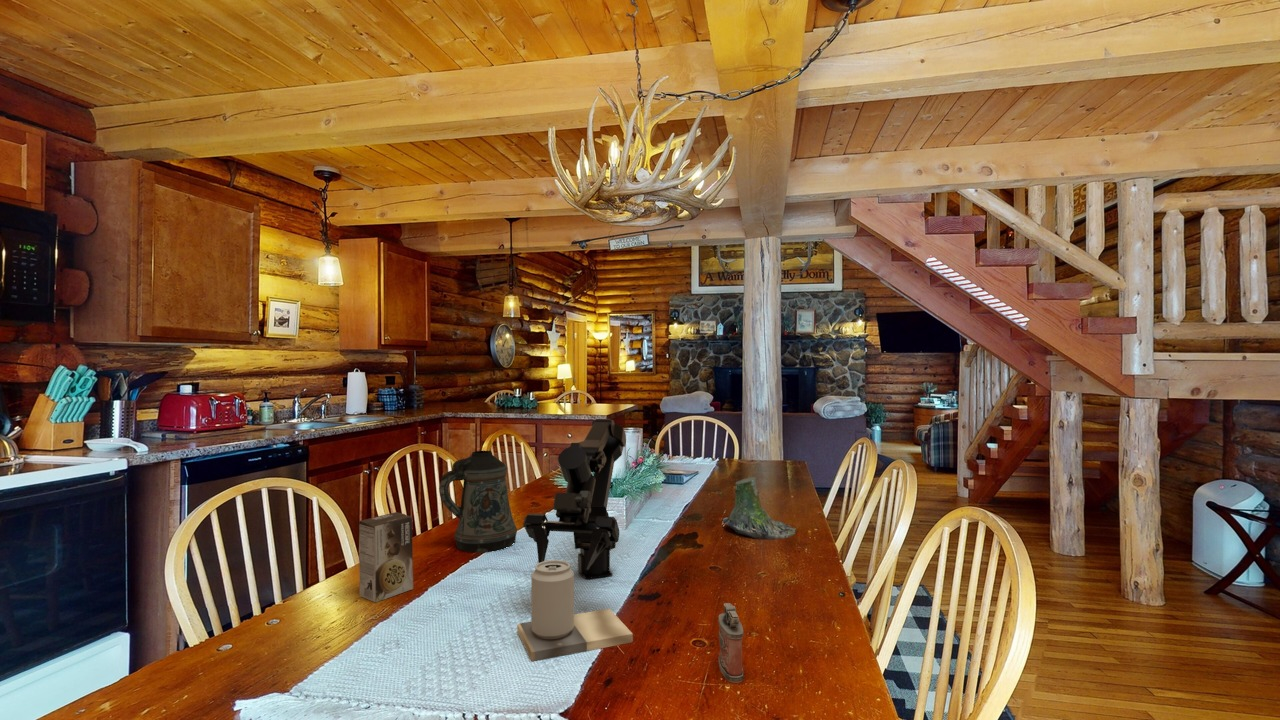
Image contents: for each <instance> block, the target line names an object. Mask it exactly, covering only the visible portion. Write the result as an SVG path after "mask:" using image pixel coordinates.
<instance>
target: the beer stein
mask: <svg viewBox="0 0 1280 720" xmlns="http://www.w3.org/2000/svg"><path fill="white" fill-rule="evenodd" d="M507 473H508V466H507V465H506V464H505V462H503V461H502V460H501V459H499V458H498V457H496V456H494V455H493V452H492V450H491V451H490V450H475V451H473V452H472V453H471V455H469V456H468V457H466V458H461V459H458V460H456V461H455V462H453V465H452V470H449V471H447V472H446V473H444V474H443V475H442V476H441V478H440V480H441V481H440V482H439V488H438V490H439V491H438V492H439V496H440V500H441V501H442V503H443V504H444V506H445V508H447V510H448V511H449V512H450V513H452V515H453V516H455V517H456V518H458V524H457V526H456V529H455V532H454V541H455V545H456V548H457V550H459V551H463V552H466V553H474V554H475V553H477V554H478V553H479V554H480V553H481V554H482V553H492V551H494V552H498V551H497V550H499V551H502V550H501V549H503V550H505V549H504V548H506V547H509V546H511V545H512V544H513V543H515V544H516V538H517V533H518V532H517V531H518V529H517V528H518V527H517V526H516V524H515V523H516V522H515V520H514V517H513V513H512V510H511V506H510V501H509V493H508V492H509V491H508V488H507V481H506V475H507ZM455 481H457V482H458V481H463V484H462V485H463V486H462V494H461V500H460V506H458V505H457V503H456V502H454V500H453V498H452V496H451V495H450V493H449V487H450V484H451V483H452V482H455ZM512 546H513V545H512ZM512 546H511V547H512ZM509 548H510V547H509ZM506 549H507V548H506Z"/></svg>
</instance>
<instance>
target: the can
mask: <svg viewBox="0 0 1280 720" xmlns="http://www.w3.org/2000/svg"><path fill="white" fill-rule="evenodd" d="M530 580H531V593H530V594H531V595H530V596H531V598H530V599H531V602H530V603H531V605H530V606H531V608H530V609H531V613H530V614H531V620H530V622H531V628H532V631H533V632H534V633H535V634H536V635H537V636H538V637H540V638H544V639H558V638H562V637H564V636H566V635H567V634H568V633H569V632H570V631H571V630H572V629H573V627H574V614H575V573H574V571H573V570H572V569H571V564H570V562H568V561H565V560H560V559H558V560H557V559H550V560H544V561H543V562H540V563H539V562H538V563H537V564H535V566H534V571H533V572H532V573H531V579H530Z"/></svg>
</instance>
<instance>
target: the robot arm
mask: <svg viewBox="0 0 1280 720" xmlns="http://www.w3.org/2000/svg"><path fill="white" fill-rule="evenodd" d="M591 423H592V424H591V428H590V430H589V431H588V432H587V435H586V437H585V438H584V440H582V441H579V442H571V443H570V446H569V447H566V448H564V449H563V450H562V451H561V452H560V453H559V454H558V456H557V461H558V464H559V467H560V471H561V472H562V477H563V479H564V481H565V482H567V485H566V489H565V492H555V493H554V498H553V499H554V500H553V501H554V502H553V508H552V509H553V510H554V511H556V512H555V516H556V518H559V519H558V520H557V521H556V520H555V521H554V520H548V517H547V515H546V514H545V513H528V514H526V516H525V517H524V519H523V523H522V525H523V527H524V529H525V531H526V533H527V535H528V537H529V538H530V539H532V540H533V541H534V542H535V543H536V549H537V550H536V551H537V561H538V563H540V562H543V561H546V554H547V551H548V546H549V543H550V541H549V538H548V537H550V533H551V532H564V533H573V541H574V549H576V550H578V549H579V553H578V554H577V571H578V573H580V574H581V576H582V577H583V578H584V579H586V580H590V579H591V580H592V579H597V578H604V577H609V576H610V577H611V576H613V572H612V571H611V567H610V565H611V563H610V562H611V561H610V559H611V557H610V555H611V554H610V551H612V550H613V549H616V545H617V543H619V538H620V528H619V524H618V521H617V519H616V517H615V516H610V515H609V513H608V511H607V509H608V508H607V507H608V501H609V495H610V491H611V490H610V489H611V484H612V478H613V471H614V466H615V462H616V461H618V459H619V458H621V457H622V455H623V451H624V448H625V447H626V446H627V434H626V432H625V429H624V427H622V426H620V425H619V424H617V423H615V421H614V419H611V418H595V419H593V420H592V422H591ZM592 473H593V474H592Z"/></svg>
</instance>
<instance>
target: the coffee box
mask: <svg viewBox="0 0 1280 720" xmlns="http://www.w3.org/2000/svg"><path fill="white" fill-rule="evenodd" d="M358 544H359V547H358V557H359V558H358V561H359V562H358V563H359V564H358V565H359V566H358V569H359V573H358V575H359V577H358V578H359V597H360V598H363V599H366V600H369V601H370V602H374V603H378V602H382V601H384V600H386V599H390V598H392V597H395V596H398V595H401V594H402V593H406V592H409V591H411V590H413V589H414V563H413V562H414V557H413V556H414V555H413V552H414V551H413V550H414V549H413V516H412V515H407V514H405V513H401V512H397V511H395V512H391V513H387V514H386V513H385V514H382V515H379V516H374V517H370V518H367V519H366V518H365V519H362V520H361V519H360V520H359V521H358Z"/></svg>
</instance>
